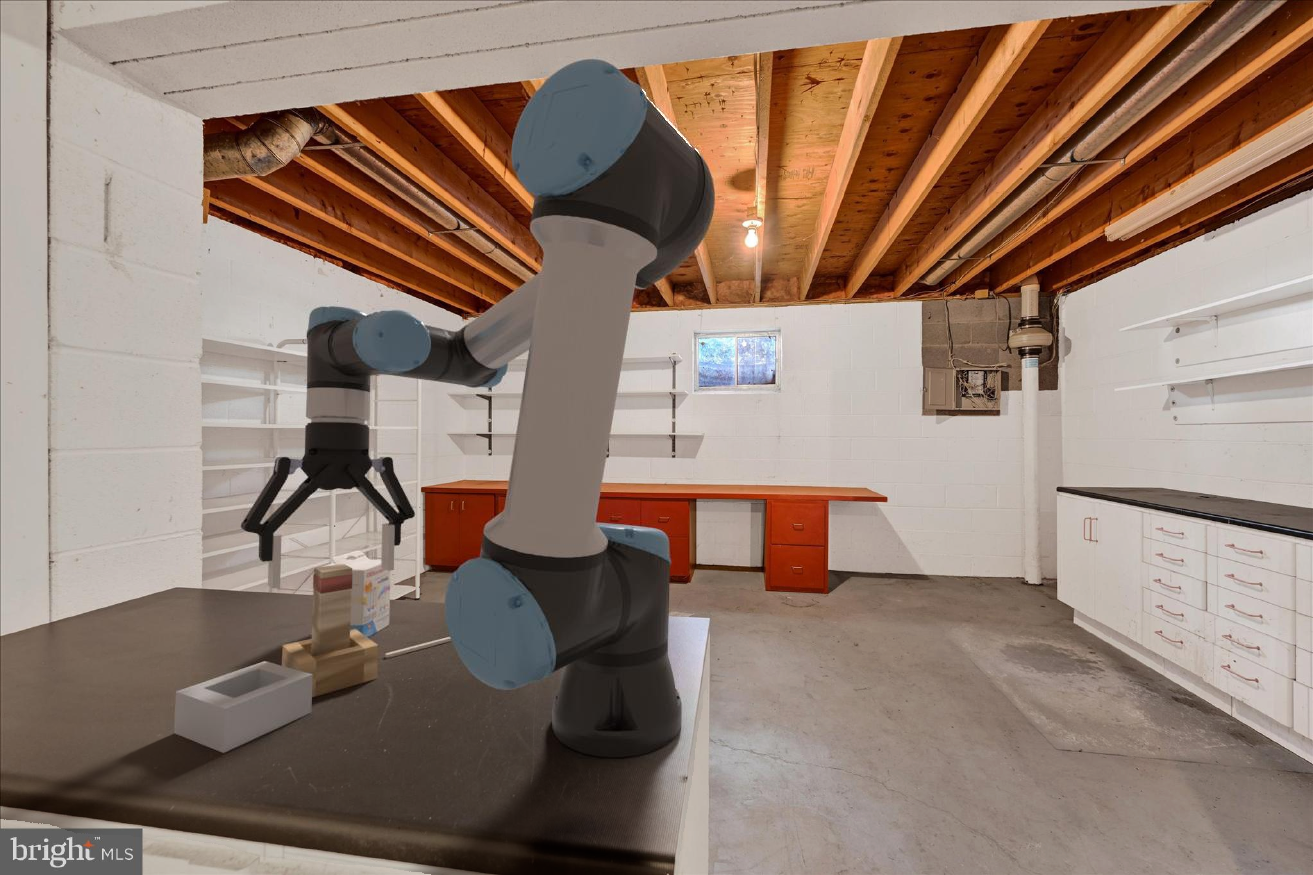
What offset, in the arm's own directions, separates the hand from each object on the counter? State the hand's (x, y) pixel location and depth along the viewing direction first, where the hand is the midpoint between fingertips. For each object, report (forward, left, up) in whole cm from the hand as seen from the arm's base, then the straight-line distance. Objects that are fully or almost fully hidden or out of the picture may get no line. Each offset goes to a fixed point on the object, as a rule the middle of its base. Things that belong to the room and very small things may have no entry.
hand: (334, 577), depth 70 cm
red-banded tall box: (0, 0, -14) cm, 14 cm away
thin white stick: (+2, -13, -14) cm, 19 cm away
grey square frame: (-6, +10, -14) cm, 18 cm away
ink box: (+17, -8, -14) cm, 24 cm away
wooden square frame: (0, 0, -14) cm, 14 cm away
